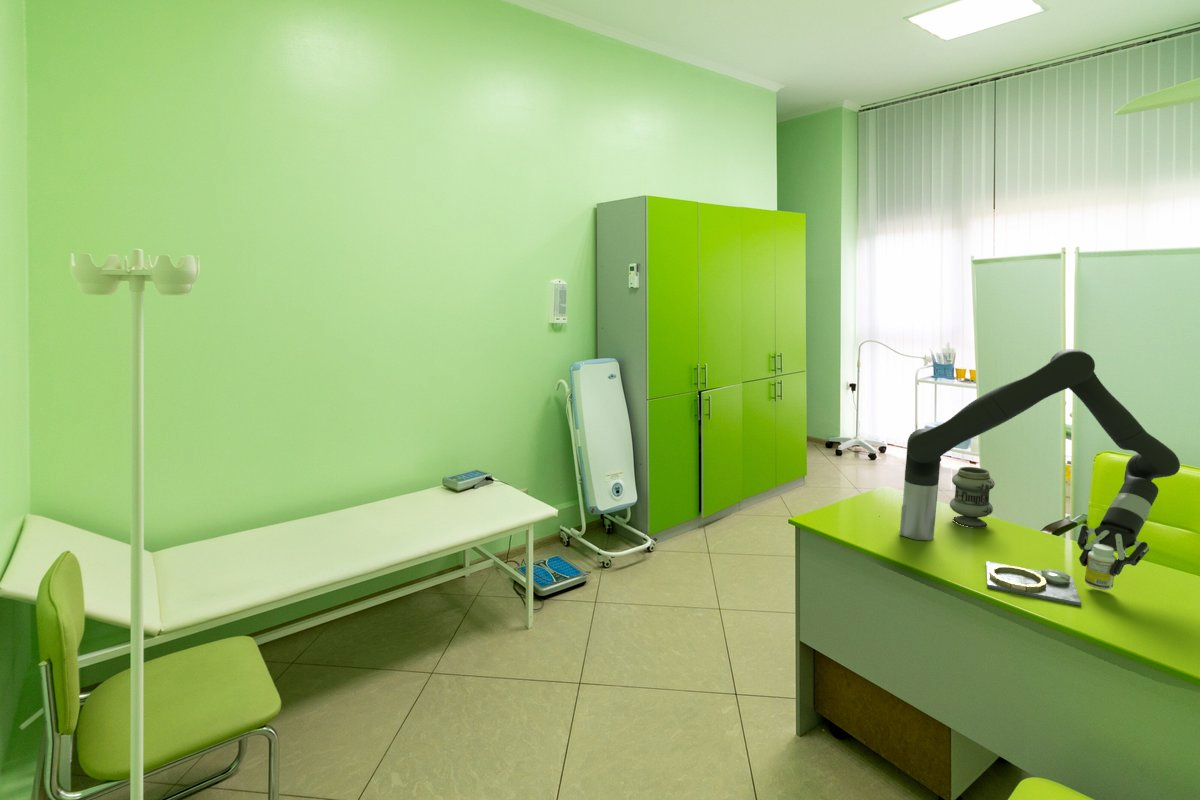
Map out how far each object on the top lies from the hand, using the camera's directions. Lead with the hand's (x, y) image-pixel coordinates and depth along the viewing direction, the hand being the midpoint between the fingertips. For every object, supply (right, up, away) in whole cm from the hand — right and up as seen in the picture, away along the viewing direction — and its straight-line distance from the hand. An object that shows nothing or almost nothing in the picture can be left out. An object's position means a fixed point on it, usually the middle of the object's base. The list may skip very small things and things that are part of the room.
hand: (1097, 569), depth 153 cm
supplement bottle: (+2, -5, +2) cm, 5 cm away
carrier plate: (-13, -5, +6) cm, 15 cm away
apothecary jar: (-3, +2, +48) cm, 48 cm away
